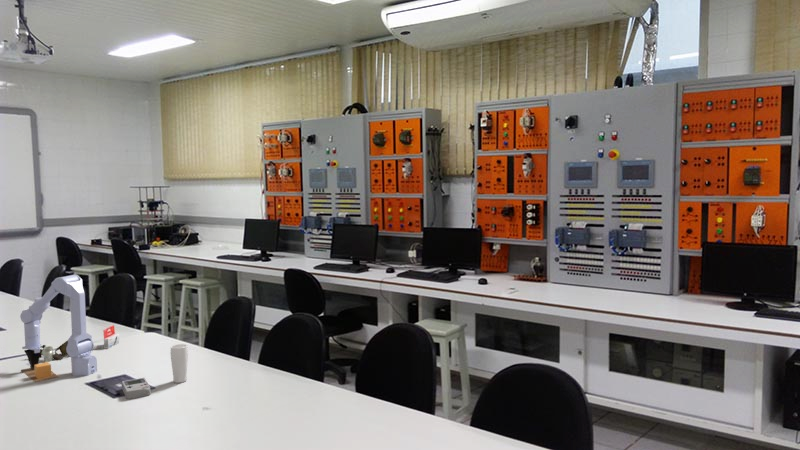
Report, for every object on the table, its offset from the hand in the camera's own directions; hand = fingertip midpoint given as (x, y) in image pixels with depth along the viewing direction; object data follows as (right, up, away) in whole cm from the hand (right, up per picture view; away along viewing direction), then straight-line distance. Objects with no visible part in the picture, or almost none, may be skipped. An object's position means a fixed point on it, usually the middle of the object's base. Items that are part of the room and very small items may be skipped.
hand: (33, 365), depth 260 cm
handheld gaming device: (+58, -5, -27) cm, 64 cm away
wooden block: (+6, -3, -6) cm, 9 cm away
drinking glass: (+71, -3, -15) cm, 72 cm away
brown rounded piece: (0, -1, +24) cm, 24 cm away
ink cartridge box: (+14, 0, +42) cm, 44 cm away
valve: (-7, -2, +19) cm, 20 cm away
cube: (+10, -2, -10) cm, 15 cm away
